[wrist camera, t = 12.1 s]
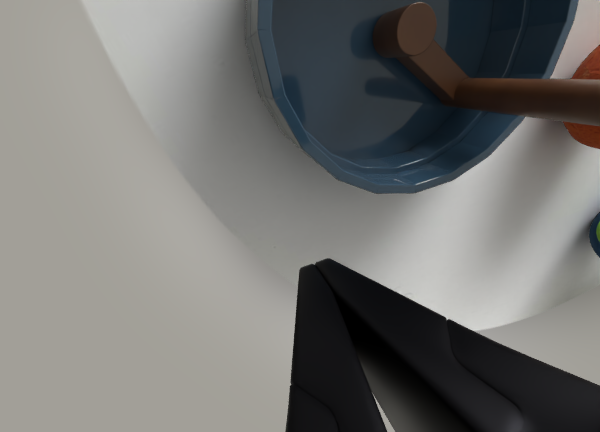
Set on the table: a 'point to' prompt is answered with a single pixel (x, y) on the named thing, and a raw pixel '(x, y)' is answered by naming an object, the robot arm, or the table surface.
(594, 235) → the christmas ornament
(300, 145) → the bowl
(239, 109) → the table surface
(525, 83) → the crank handle
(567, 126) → the fruit
